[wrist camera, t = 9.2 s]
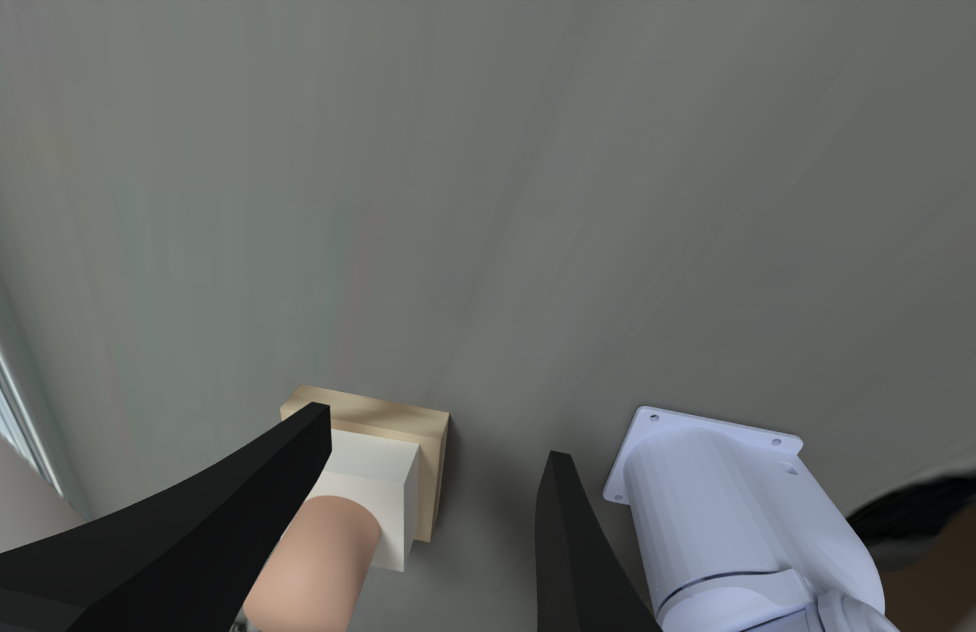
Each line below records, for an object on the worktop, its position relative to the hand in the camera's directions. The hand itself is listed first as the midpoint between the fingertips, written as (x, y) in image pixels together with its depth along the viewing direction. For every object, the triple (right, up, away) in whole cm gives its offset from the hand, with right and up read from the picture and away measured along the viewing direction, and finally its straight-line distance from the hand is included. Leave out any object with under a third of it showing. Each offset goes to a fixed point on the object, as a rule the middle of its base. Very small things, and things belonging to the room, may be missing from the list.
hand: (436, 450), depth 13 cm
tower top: (-7, -6, +13) cm, 16 cm away
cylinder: (-7, -8, +11) cm, 15 cm away
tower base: (-6, -5, +16) cm, 18 cm away
